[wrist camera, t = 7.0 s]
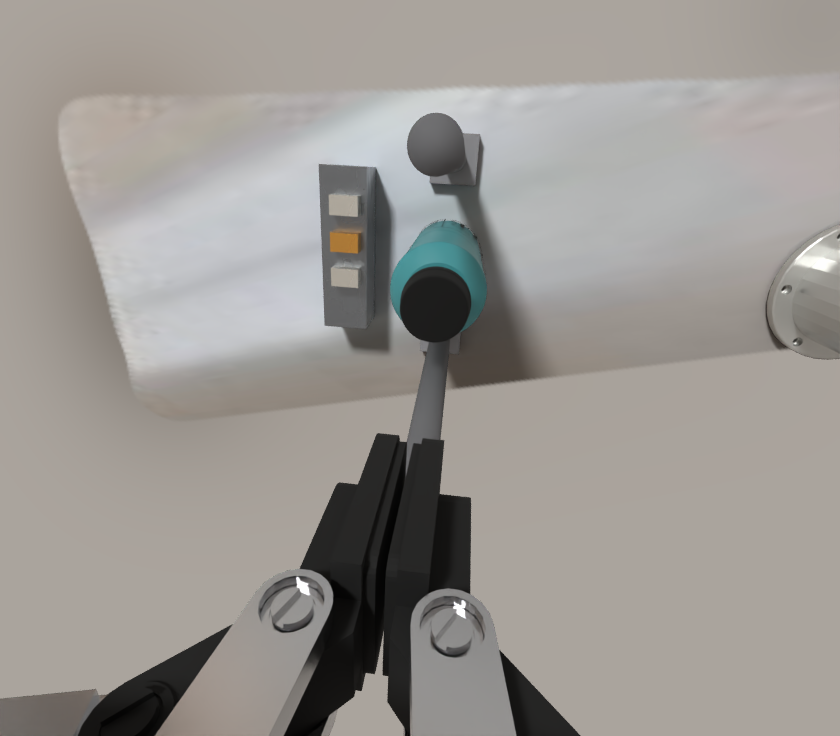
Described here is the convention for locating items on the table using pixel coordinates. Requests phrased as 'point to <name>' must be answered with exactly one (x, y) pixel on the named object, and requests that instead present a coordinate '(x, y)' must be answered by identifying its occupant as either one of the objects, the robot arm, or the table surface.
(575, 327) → the table surface
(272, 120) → the table surface
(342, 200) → the pdu strip
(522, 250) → the table surface
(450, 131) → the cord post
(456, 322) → the beverage bottle
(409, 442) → the cord post
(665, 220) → the table surface
